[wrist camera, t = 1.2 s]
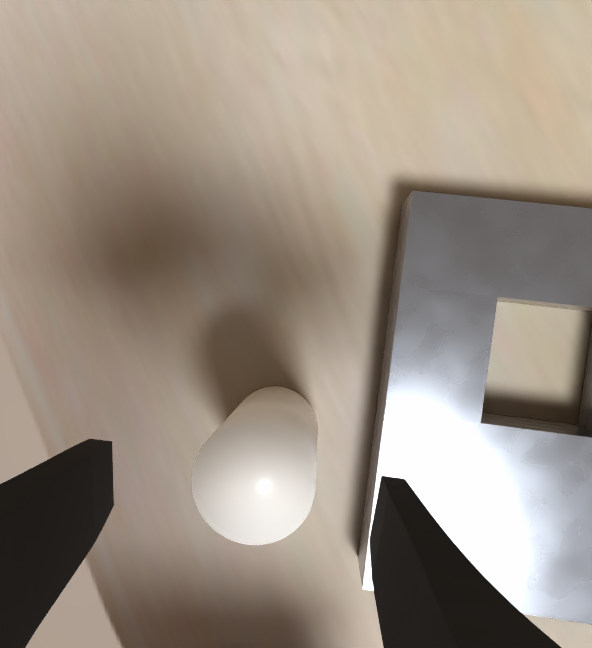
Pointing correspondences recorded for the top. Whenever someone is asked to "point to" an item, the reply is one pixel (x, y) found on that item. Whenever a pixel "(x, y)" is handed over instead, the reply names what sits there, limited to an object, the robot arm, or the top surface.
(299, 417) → the white rounded cylinder
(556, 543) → the plate
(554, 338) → the top surface
